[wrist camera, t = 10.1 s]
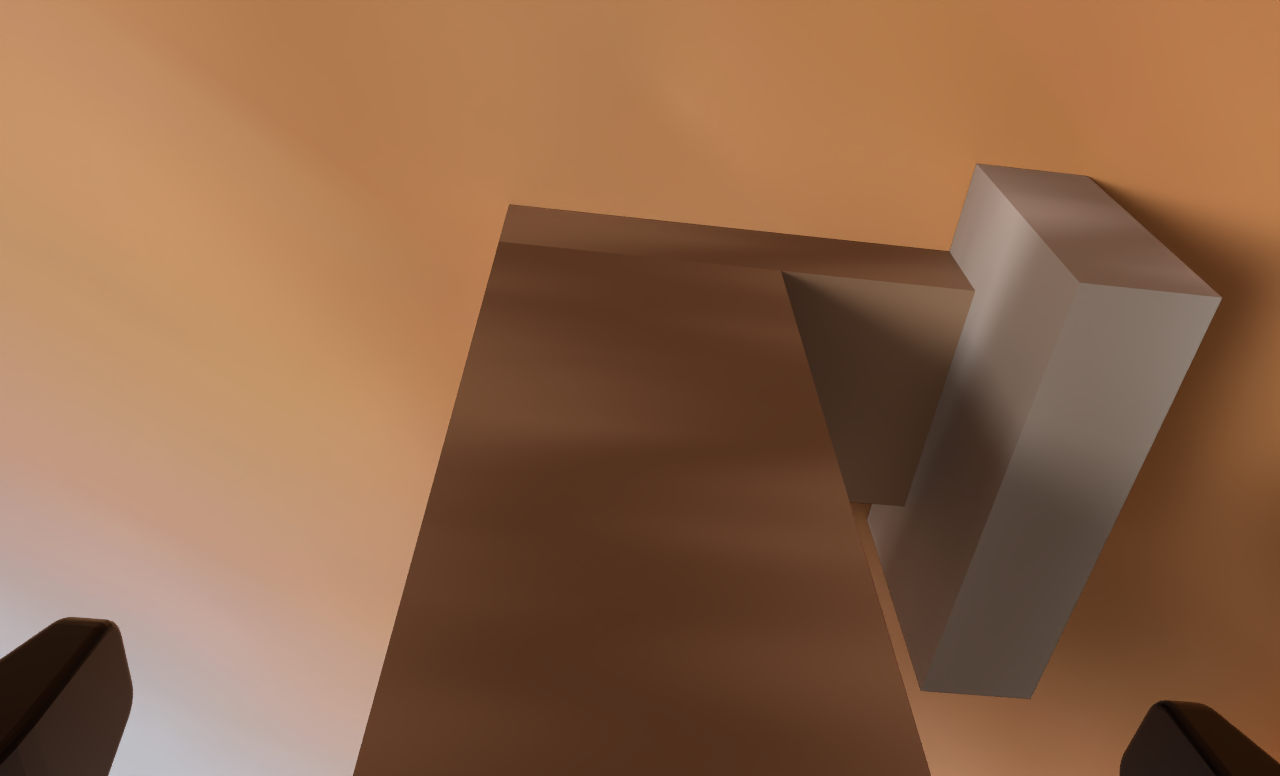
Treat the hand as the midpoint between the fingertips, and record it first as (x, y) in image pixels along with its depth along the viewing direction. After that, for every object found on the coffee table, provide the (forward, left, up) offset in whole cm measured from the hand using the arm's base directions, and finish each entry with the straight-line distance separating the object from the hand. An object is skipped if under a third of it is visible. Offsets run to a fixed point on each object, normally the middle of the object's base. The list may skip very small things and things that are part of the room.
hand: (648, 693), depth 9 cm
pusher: (-2, 0, -7) cm, 7 cm away
